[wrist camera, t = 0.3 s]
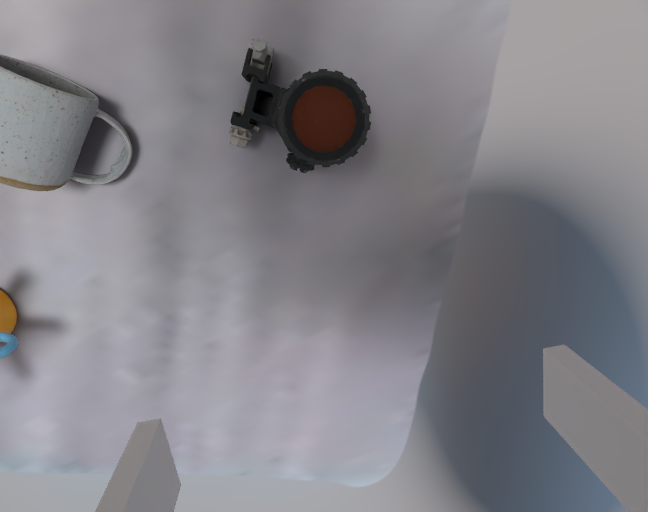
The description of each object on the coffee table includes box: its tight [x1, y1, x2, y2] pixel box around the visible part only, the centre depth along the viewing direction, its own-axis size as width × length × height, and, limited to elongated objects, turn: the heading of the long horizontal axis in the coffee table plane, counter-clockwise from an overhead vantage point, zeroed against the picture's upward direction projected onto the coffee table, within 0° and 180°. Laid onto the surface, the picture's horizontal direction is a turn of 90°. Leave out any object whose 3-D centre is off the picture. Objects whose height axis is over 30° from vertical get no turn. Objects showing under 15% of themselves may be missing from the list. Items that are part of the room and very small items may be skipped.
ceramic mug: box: [0, 55, 132, 191], centre depth 34 cm, size 11×8×8 cm
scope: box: [230, 39, 371, 173], centre depth 32 cm, size 8×14×10 cm
